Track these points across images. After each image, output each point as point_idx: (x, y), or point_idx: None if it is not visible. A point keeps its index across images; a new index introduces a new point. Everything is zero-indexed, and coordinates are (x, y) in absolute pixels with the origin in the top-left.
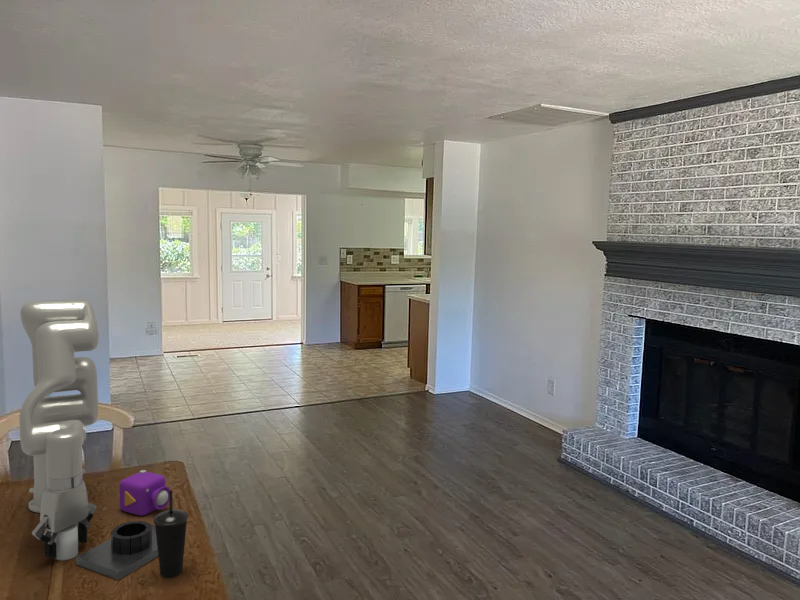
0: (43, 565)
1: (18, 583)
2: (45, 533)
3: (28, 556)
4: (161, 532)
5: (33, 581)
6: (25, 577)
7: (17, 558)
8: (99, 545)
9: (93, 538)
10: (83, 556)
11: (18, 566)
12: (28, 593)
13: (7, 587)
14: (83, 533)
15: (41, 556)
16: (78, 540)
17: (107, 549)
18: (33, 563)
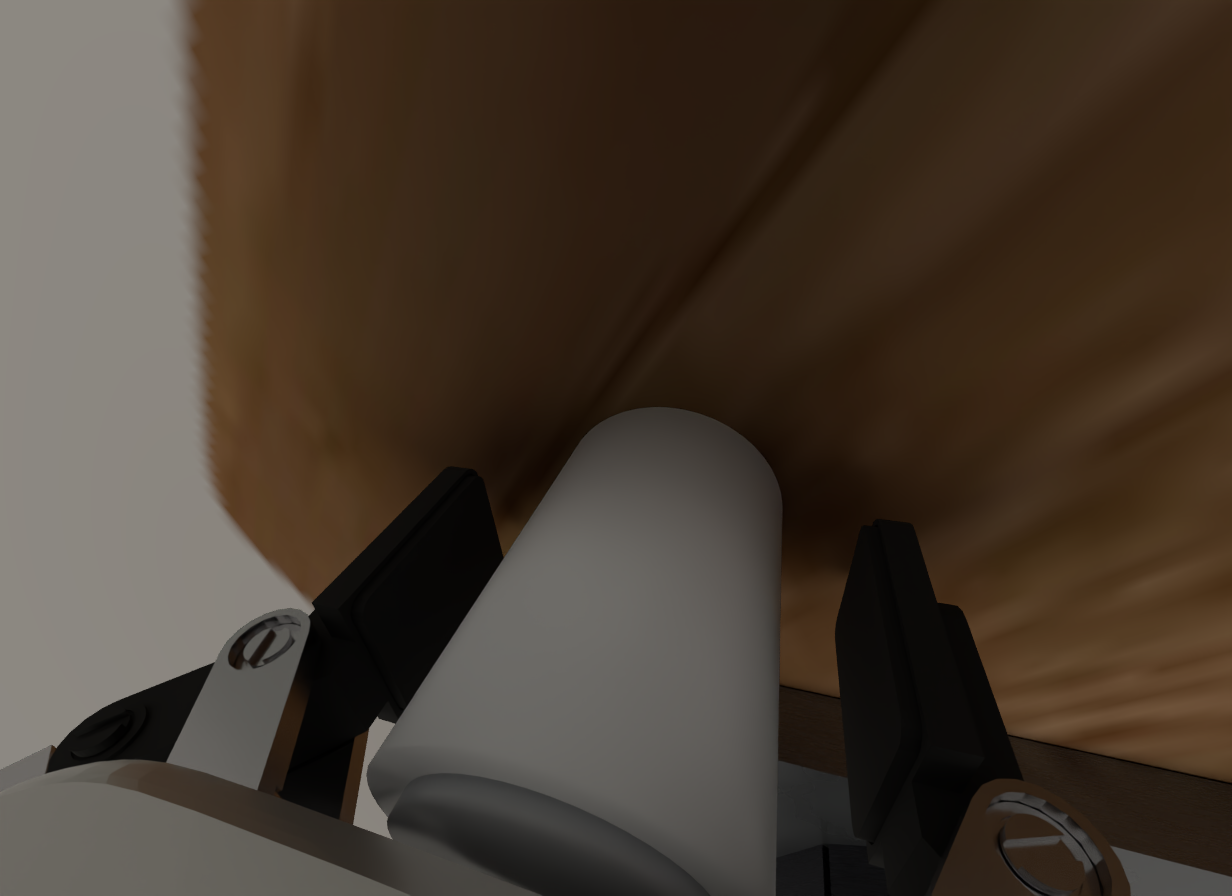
0: (452, 458)
1: (268, 486)
2: (193, 758)
3: (406, 146)
4: None
5: (343, 546)
6: (311, 471)
7: (295, 57)
8: (822, 780)
9: (1155, 510)
10: None
11: (287, 271)
12: (302, 596)
13: (210, 463)
14: (848, 760)
15: (506, 299)
16: (855, 570)
17: (788, 832)
18: (403, 353)
